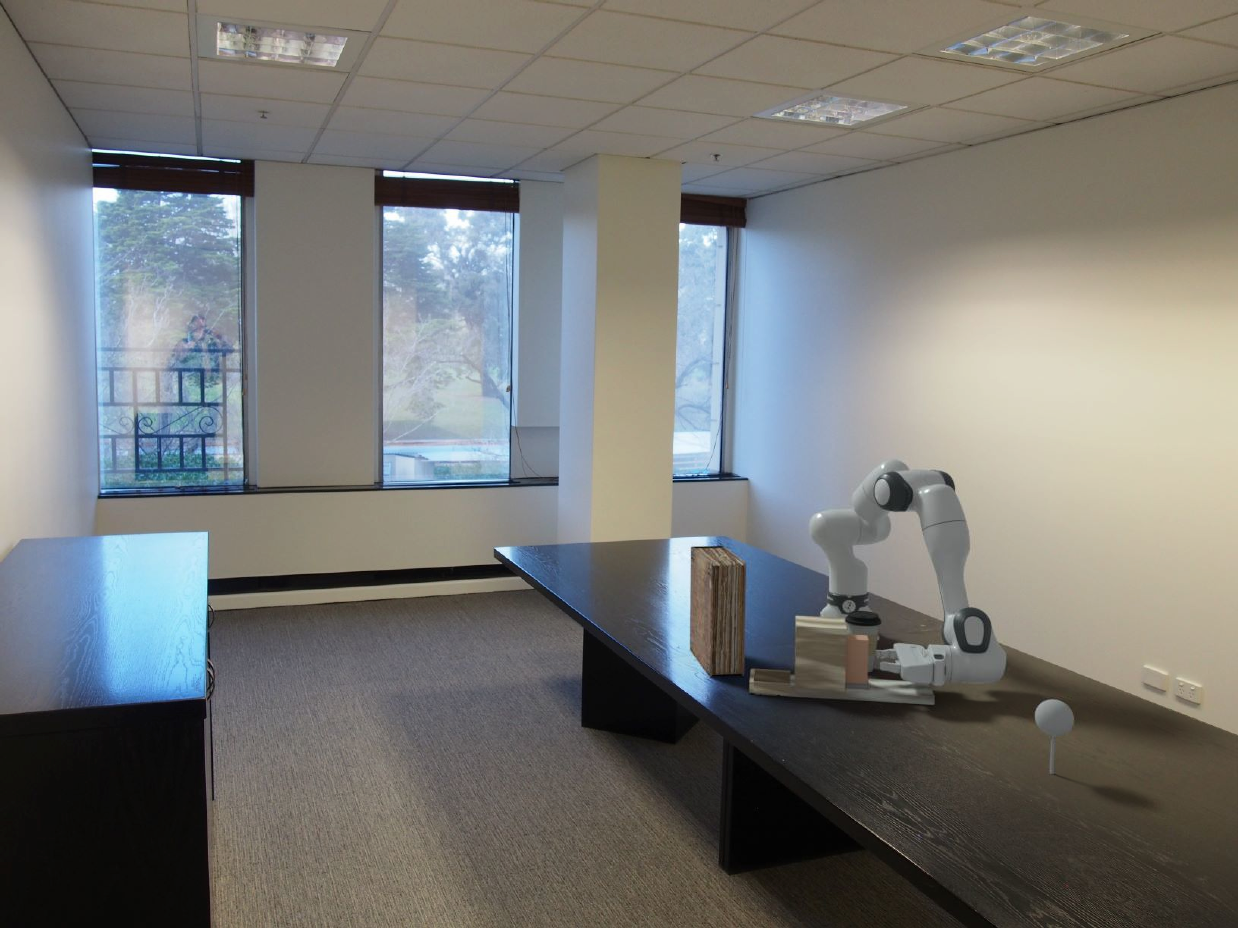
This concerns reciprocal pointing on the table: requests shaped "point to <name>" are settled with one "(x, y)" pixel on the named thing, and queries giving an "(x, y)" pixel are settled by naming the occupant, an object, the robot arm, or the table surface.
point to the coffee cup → (865, 630)
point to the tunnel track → (830, 669)
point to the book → (717, 610)
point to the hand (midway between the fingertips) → (878, 659)
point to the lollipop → (1054, 721)
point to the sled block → (856, 662)
